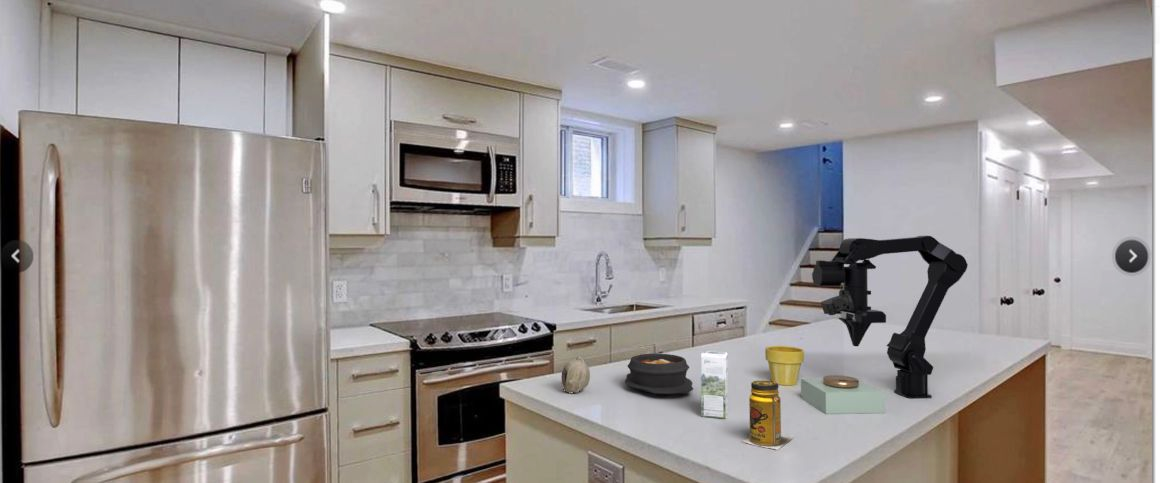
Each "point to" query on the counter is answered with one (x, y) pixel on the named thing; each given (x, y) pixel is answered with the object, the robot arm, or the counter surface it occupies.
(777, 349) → the plant pot
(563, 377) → the garlic bulb
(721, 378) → the syrup box
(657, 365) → the casserole
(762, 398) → the condiment
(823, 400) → the base
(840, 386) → the copper round dome
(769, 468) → the counter surface
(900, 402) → the counter surface
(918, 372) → the robot arm
